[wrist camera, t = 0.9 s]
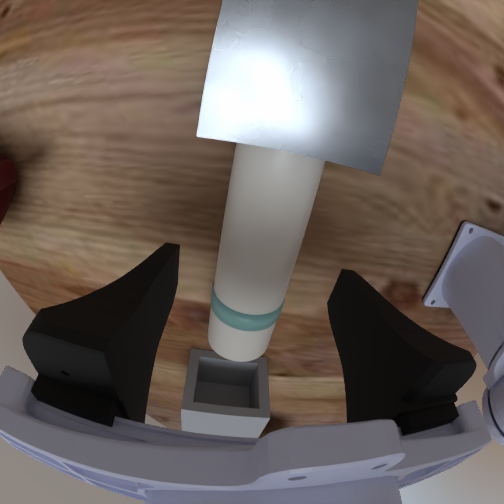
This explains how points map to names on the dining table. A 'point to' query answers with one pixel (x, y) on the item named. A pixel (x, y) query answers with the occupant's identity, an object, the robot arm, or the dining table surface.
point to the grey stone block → (309, 77)
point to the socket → (225, 395)
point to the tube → (259, 246)
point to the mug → (6, 184)
